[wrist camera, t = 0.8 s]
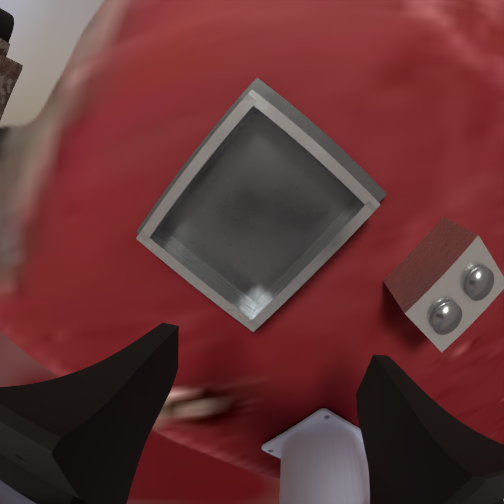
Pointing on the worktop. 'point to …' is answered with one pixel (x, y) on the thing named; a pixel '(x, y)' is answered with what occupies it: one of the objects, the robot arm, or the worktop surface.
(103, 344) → the worktop surface
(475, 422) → the worktop surface
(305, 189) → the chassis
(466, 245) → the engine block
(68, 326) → the worktop surface
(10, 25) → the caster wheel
